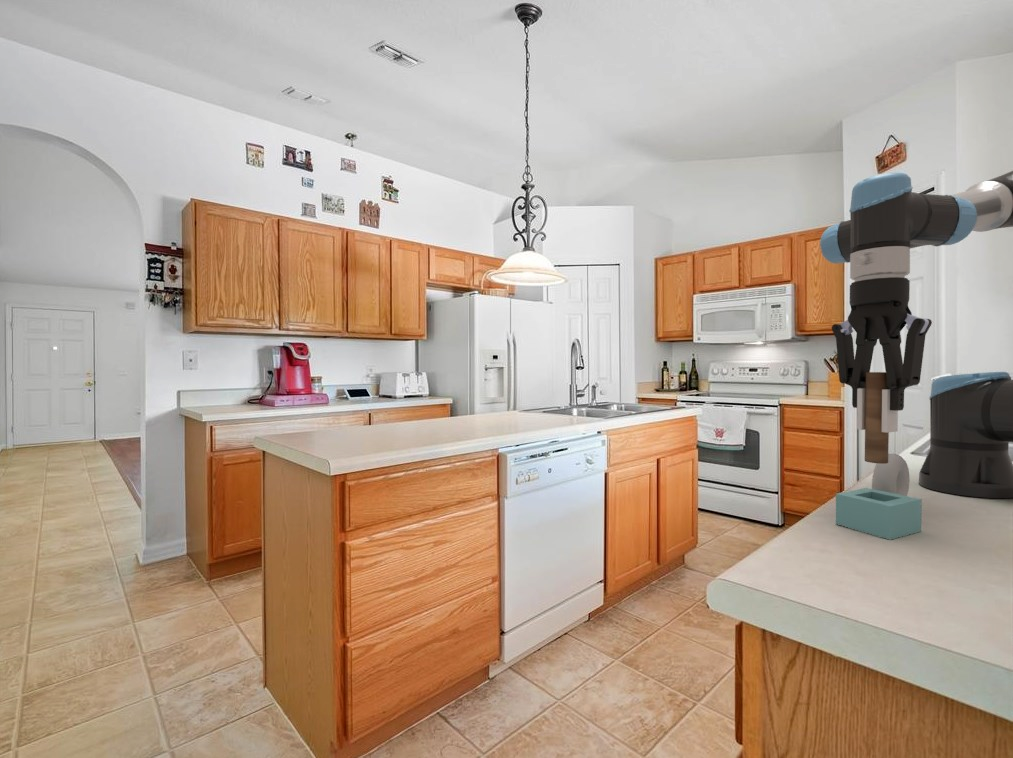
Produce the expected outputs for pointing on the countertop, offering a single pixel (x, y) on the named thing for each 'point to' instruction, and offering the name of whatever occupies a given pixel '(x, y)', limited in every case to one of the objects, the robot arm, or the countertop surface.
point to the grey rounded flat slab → (892, 476)
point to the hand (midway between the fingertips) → (876, 430)
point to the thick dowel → (875, 419)
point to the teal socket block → (879, 512)
